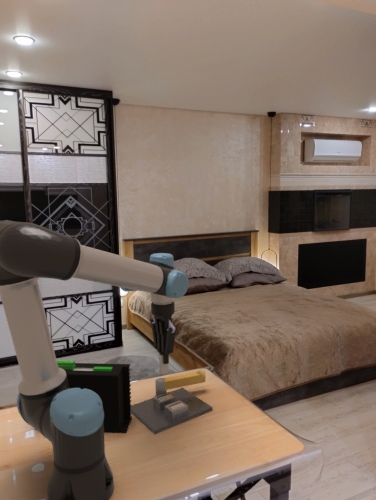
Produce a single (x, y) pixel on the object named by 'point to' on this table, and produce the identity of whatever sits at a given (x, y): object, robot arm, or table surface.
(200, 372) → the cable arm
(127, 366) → the electronic device
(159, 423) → the chassis plate
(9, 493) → the table surface
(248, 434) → the table surface
